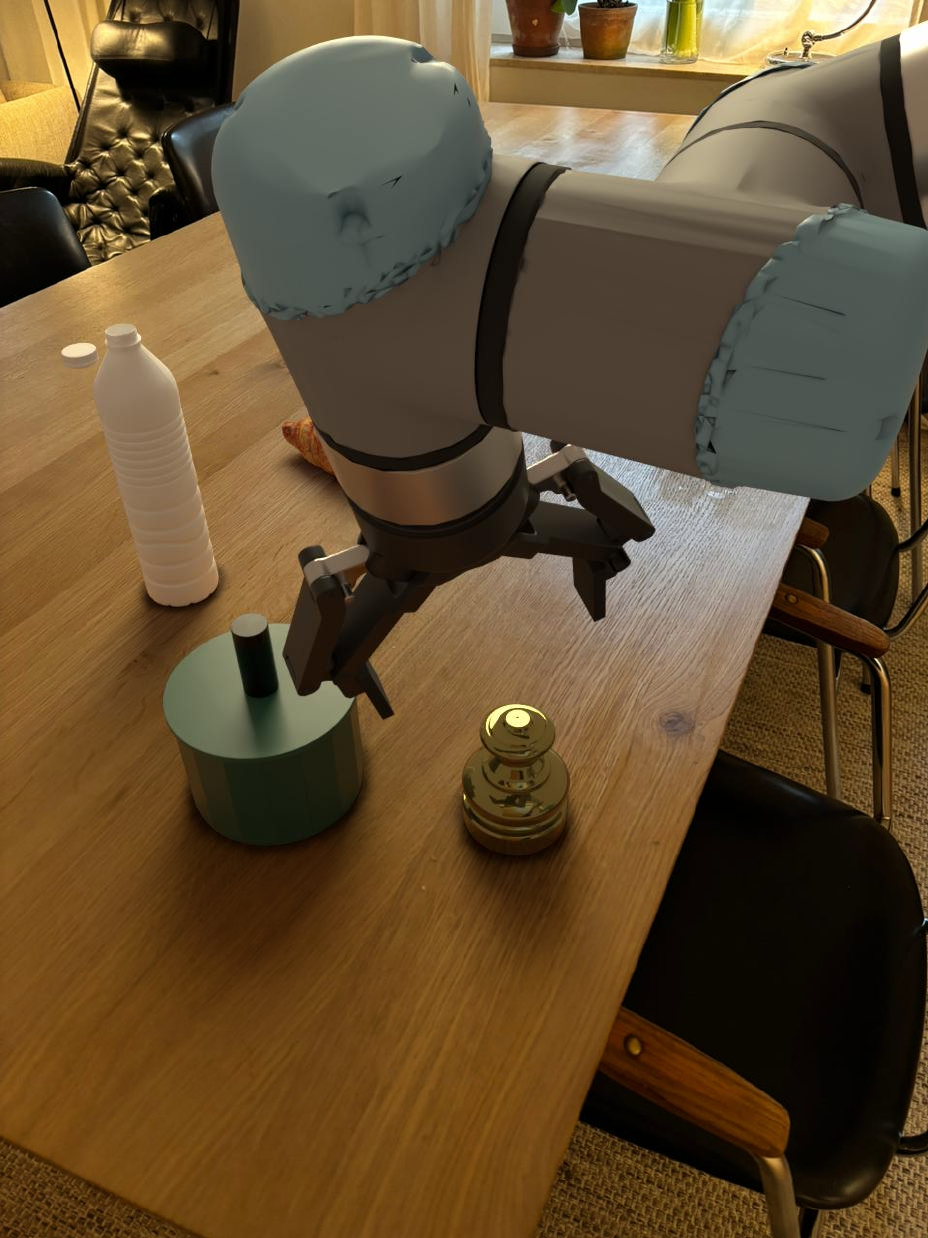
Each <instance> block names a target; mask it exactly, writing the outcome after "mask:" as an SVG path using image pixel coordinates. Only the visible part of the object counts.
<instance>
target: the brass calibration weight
mask: <svg viewBox="0 0 928 1238" xmlns="http://www.w3.org/2000/svg"><path fill="white" fill-rule="evenodd" d="M478 732H479V740H480V742H481V744H482V745H480V746H479V747H478V748H477V749H475V750H473V752H472V753H471V754H470V756H469V757H468V759H467V760H466V762H465V764H464V766H463V769H462V771H461V772H462V773H461V786H462V793H461V802H462V807H463V808H462V809H463V811H462V812H463V813H462V814H463V815H462V816H463V820H464V825H465V828H466V830H467V831H468V833H469V834H470V835H471V837H472V838H473V839H474V840H475V842H477V843H478V844H479V845H481V846H483V847H484V848H486V849H488V850H489V851H491V852H495V853H498V854H501V855H507V856H526V855H527V856H528V855H532V854H536V853H538V852H541V851H543V850H545V849H547V848H548V847H550V846H551V845H552V844H553V843H554V842H556V841H557V839H558V838H560V836H561V835H562V833H563V831H564V829H565V825H566V822H567V812H568V808H569V803H570V802H569V792H570V789H571V777H570V776H571V775H570V771H569V769H568V765H567V763H565V761H564V759H563V757H562V756H561V755H560V754H559V753H558V752H557V751H556V750H555V749H553V745H554V743H555V741H556V727H555V724H554V722H553V720H552V718H551V717H550V715H548V713H546V712H545V711H544V710H542V709H540V708H539V707H537V706H534V705H532V704H527V703H521V702H511V703H505V704H502V705H498V706H497V707H494V708H493V709H491V710H490V711H488V712H487V713H486V714H485V716H484V717H483V718H482V720H481V722H480V726H479V731H478Z"/></svg>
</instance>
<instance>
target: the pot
mask: <svg viewBox="0 0 928 1238" xmlns="http://www.w3.org/2000/svg"><path fill="white" fill-rule="evenodd" d="M357 699H358V698H357ZM357 699H356V702H355V704H354V707H353V709H352V711H351V713H350V714H349V716H348V717H347V718H346V720H345V721H344V722H343V723H342V725H341V726H340V727H339V728H338V729H337V730H336V731H335V732H333V733H332V734H331V735H330V736H329V737H327V738H326V739H325V740H323V741H322V742H320V743H319V744H317V745H315V746H313V747H311V748H310V749H308V750H306V751H303V752H301V753H298V754H296V755H293V756H290V757H287V758H284V759H280V760H275V761H271V762H264V763H255V764H237V763H226V762H221V761H216V760H213V759H210V758H206V757H203V756H201V755H199V754H197V753H195V752H193V751H191V750H190V749H188V748H187V747H185V746H184V745H183V744H182V743H181V742H180V741H178V740H177V739H176V743H177V746H178V749H179V752H180V756H181V760H182V763H183V766H184V769H185V773H186V777H187V781H188V783H189V787H190V791H191V794H192V797H193V801H194V805H195V807H196V809H197V810H198V812H199V813H200V815H201V817H202V818H203V820H204V821H205V823H206V824H207V825H209V827H211V828H212V829H213V830H214V831H216V832H217V833H219V835H221V836H223V837H225V838H227V839H229V840H232V841H234V842H235V841H236V842H238V843H240V844H241V843H242V844H246V845H251V846H260V847H272V846H281V845H287V844H292V843H298V842H299V841H304V840H306V839H309V838H311V837H314V836H315V835H317V834H319V833H321V832H323V831H324V830H326V829H328V828H330V827H331V826H332V825H334V824H335V823H336V822H338V820H340V819H341V818H342V817H343V816H344V815H345V814H347V811H348V810H349V809H350V808H351V807H352V806H353V804H354V802H355V800H356V799H357V797H358V795H359V792H360V790H361V787H362V783H363V779H364V778H363V777H364V767H365V761H364V752H363V744H362V735H361V734H362V733H361V726H360V716H359V708H358V701H357Z"/></svg>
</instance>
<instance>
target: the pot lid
mask: <svg viewBox="0 0 928 1238" xmlns="http://www.w3.org/2000/svg"><path fill="white" fill-rule="evenodd" d="M290 624H291V623H283V622H281V623H280V622H279V623H278V622H275V623H269V621H268V619H267V618H266V617H265V616H264V615H263V614H261V613H255V612H248V613H244V614H240V615H239V616H237V617H235V618H234V619H233V620H232V622H231V623H230V630H229V631H227V632H223V633H221V634H219V635H216V636H215V637H212V638H210V639H209V640H207V641H205V642H203V643H201V644H200V645H199V646H197V647H196V648H195V649H193V650H191V651H190V652H189V653H188V654H187V655H186V656H184V658H182V660H181V661H179V662H178V664H177V665H176V666H175V667H174V669H173V670H172V672H171V673H170V675H169V677H168V679H167V681H166V684H165V687H164V689H163V693H162V700H161V701H162V702H161V703H162V711H163V715H164V720H165V723H166V725H167V727H168V729H169V731H170V732H171V733H172V735H173V736H174V738H175V739H176V741H177V740H178V741H180V742H181V743H182V744H183V745H184V746H185V747H187V748H188V749H190V750H191V751H193V752H195V753H197V754H199V755H201V756H203V757H206V758H210V759H213V760H216V761H221V762H226V763H237V764H255V763H264V762H271V761H275V760H280V759H284V758H287V757H290V756H293V755H296V754H298V753H301V752H303V751H306V750H308V749H310V748H311V747H313V746H315V745H317V744H319V743H320V742H322V741H323V740H325V739H326V738H327V737H329V736H330V735H331V734H332V733H333V732H335V731H336V730H337V729H338V728H339V727H340V726H341V725H342V723H343V722H344V721H345V720H346V718H347V717H348V716H349V714H350V713H351V711H352V709H353V707H354V704H355V702H356V699H358V696H356V697H353V698H351V699H350V698H346V697H345V696H344V695H343V693H342V692H341V691H340V689H339V688H338V687H337V686H336V685H334V684H333V682H332V681H324V682H322V683H321V686H320V688H319V689H318V690H317V691H316V692H314V693H313V694H310V695H307V696H299V695H298V694H297V691H296V689H295V686H294V684H293V681H292V679H291V676H290V673H289V671H288V668H287V666H286V663H285V661H284V658H283V655H282V652H283V649H284V645H285V642H286V638H287V635H288V631H289V628H290Z"/></svg>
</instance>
